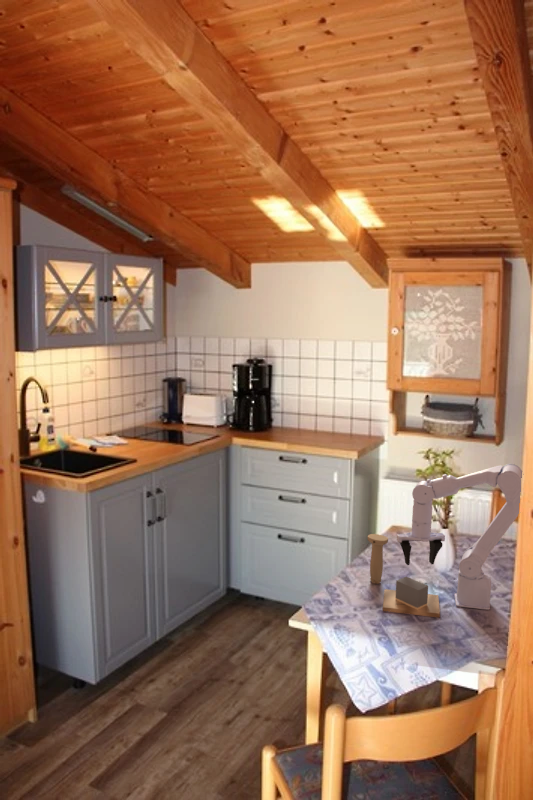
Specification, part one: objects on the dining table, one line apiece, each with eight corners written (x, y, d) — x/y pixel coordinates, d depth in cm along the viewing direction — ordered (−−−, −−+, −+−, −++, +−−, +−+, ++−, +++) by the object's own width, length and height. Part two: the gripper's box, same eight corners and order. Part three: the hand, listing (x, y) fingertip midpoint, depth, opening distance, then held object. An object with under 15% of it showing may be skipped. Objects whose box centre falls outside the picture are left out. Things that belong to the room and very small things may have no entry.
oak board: (438, 598, 200) (438, 595, 200) (439, 617, 189) (439, 613, 189) (384, 592, 204) (384, 589, 203) (382, 611, 192) (382, 607, 192)
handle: (381, 587, 207) (383, 542, 205) (363, 582, 211) (365, 537, 209) (388, 582, 211) (390, 537, 209) (370, 577, 215) (372, 532, 212)
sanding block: (427, 605, 194) (428, 585, 193) (417, 609, 191) (418, 590, 190) (405, 595, 200) (406, 576, 199) (395, 599, 197) (396, 580, 196)
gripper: (402, 526, 196) (400, 569, 198) (449, 525, 198) (447, 568, 200) (395, 518, 203) (393, 560, 205) (441, 517, 205) (438, 558, 207)
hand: (419, 563), depth 203 cm, fingers open, 7 cm apart
